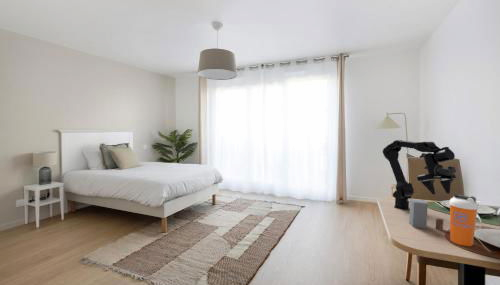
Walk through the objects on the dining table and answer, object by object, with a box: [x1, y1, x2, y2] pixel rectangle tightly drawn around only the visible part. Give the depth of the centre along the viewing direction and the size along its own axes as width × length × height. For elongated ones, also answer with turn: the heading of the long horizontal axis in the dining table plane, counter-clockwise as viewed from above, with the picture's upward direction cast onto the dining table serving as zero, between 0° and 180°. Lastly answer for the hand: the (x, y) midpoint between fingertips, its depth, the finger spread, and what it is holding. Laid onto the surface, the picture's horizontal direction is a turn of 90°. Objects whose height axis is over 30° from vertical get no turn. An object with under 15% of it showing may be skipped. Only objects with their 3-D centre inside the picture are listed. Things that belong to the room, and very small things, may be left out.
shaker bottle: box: [449, 193, 479, 247], centre depth 98 cm, size 9×9×20 cm
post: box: [435, 217, 445, 231], centre depth 111 cm, size 2×2×5 cm
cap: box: [408, 198, 429, 229], centre depth 115 cm, size 6×6×12 cm
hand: (441, 194), depth 119 cm, fingers open, 9 cm apart
